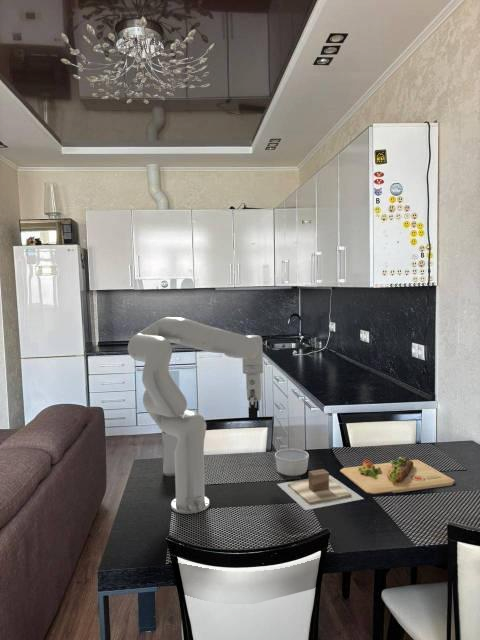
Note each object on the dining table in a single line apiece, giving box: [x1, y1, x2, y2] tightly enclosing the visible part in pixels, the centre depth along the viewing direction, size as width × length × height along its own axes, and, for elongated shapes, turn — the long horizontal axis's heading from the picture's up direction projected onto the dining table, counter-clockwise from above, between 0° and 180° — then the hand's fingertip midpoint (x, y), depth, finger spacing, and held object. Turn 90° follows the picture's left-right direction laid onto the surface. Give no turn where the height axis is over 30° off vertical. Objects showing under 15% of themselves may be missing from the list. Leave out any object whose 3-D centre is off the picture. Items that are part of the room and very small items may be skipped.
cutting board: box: [339, 456, 455, 495], centre depth 178 cm, size 35×23×8 cm
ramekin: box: [274, 448, 310, 477], centre depth 186 cm, size 13×13×7 cm
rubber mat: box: [276, 474, 365, 511], centre depth 166 cm, size 22×22×1 cm
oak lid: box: [288, 468, 351, 505], centre depth 166 cm, size 16×16×7 cm
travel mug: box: [161, 430, 179, 477], centre depth 186 cm, size 6×7×20 cm
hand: (253, 414), depth 178 cm, fingers open, 9 cm apart
